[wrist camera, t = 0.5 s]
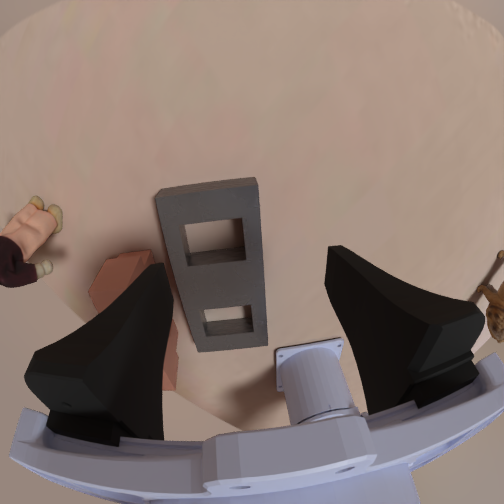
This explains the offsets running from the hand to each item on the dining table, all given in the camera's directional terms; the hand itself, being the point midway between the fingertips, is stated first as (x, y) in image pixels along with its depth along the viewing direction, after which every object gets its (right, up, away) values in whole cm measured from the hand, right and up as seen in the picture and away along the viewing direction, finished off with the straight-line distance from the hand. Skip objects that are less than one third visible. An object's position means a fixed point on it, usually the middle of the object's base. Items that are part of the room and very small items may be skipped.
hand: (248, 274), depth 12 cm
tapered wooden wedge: (-9, -3, +13) cm, 16 cm away
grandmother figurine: (-18, +4, +7) cm, 20 cm away
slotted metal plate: (-2, -1, +12) cm, 12 cm away
